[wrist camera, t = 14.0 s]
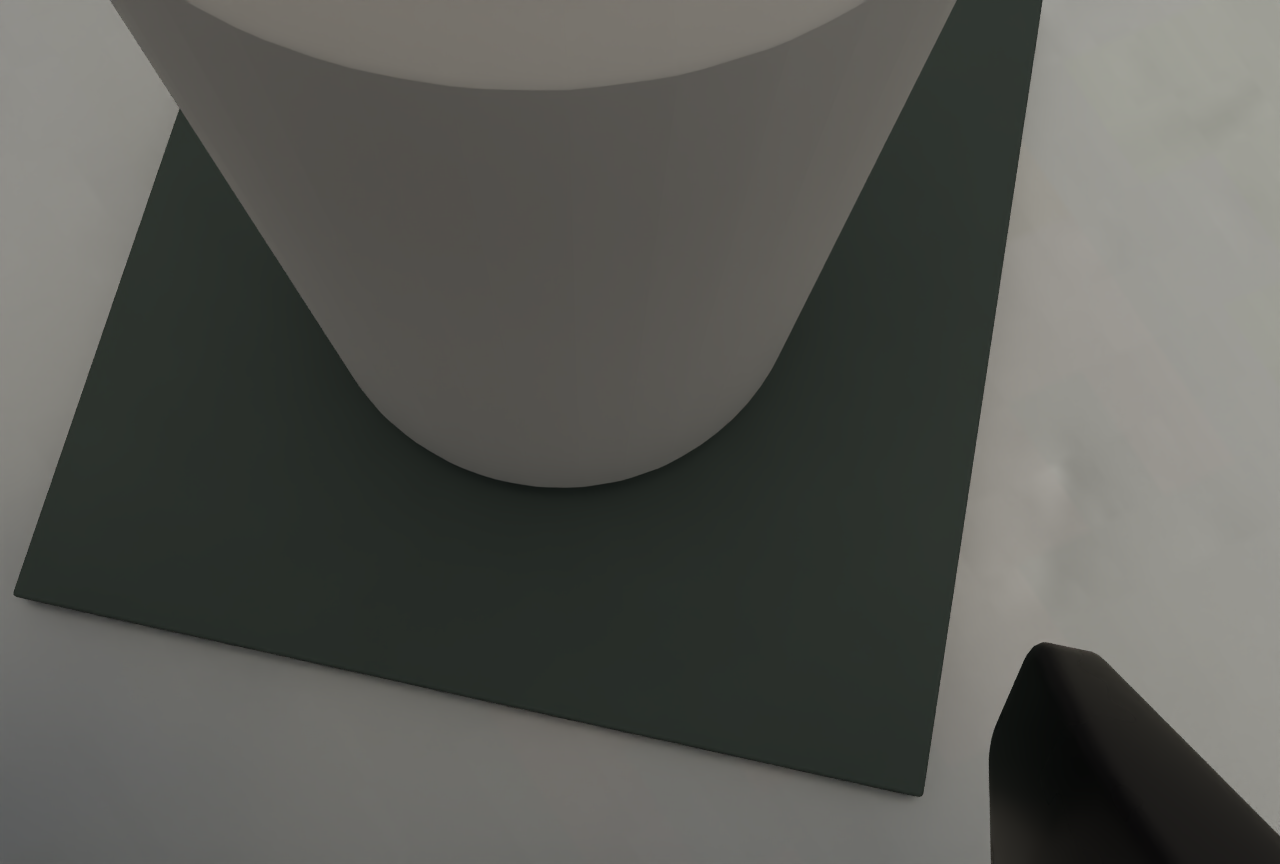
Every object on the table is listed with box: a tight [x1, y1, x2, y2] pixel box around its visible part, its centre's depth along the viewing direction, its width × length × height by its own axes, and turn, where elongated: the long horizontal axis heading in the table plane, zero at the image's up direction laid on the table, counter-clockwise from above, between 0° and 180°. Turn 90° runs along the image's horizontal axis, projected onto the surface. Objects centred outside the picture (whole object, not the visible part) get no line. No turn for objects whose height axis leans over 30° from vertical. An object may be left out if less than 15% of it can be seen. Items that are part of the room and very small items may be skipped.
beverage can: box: [110, 0, 957, 488], centre depth 11 cm, size 6×6×12 cm
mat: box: [14, 0, 1042, 797], centre depth 17 cm, size 12×12×1 cm
